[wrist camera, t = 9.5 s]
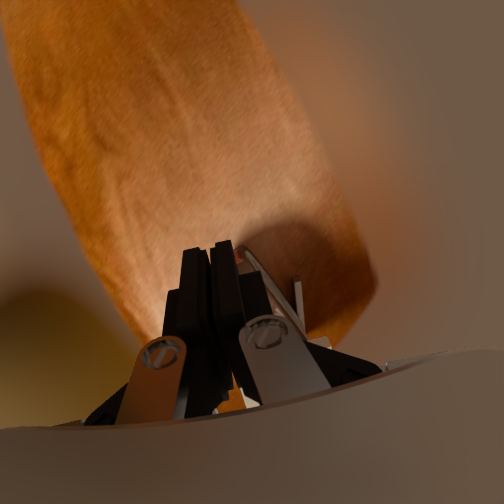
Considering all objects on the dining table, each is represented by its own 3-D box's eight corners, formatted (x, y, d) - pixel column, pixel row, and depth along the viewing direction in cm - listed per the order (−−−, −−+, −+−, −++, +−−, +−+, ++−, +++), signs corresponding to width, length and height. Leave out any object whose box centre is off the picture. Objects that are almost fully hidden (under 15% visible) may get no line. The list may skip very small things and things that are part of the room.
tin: (218, 244, 36) (221, 286, 28) (241, 229, 35) (251, 268, 28) (283, 326, 42) (298, 372, 35) (303, 315, 42) (322, 359, 35)
